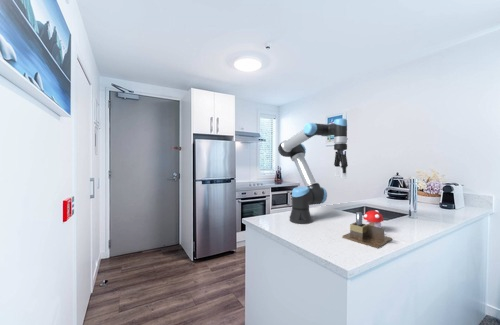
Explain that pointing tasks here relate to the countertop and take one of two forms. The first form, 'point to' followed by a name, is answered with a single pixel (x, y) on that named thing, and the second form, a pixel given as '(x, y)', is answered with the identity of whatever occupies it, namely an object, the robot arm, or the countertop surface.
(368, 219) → the mushroom
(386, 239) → the square socket plate
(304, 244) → the countertop surface
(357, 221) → the pin
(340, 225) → the countertop surface
